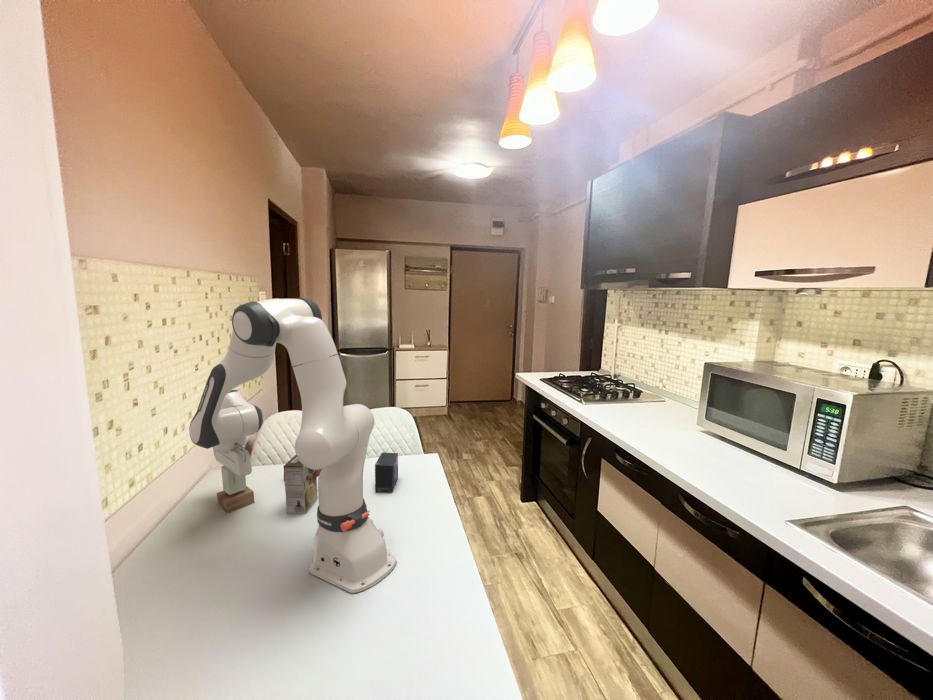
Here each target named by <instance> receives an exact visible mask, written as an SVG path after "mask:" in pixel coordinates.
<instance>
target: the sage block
mask: <svg viewBox="0 0 933 700" xmlns="http://www.w3.org/2000/svg"><path fill="white" fill-rule="evenodd" d="M220 467H221V469H220V470H221V478H222V491H225V492H226V493H227V494H229V495H231V494H234V493H237V492H239V491H242V490H245V489H246V486H247V480H246V476H243V477H242V483H241V484H239V485H236V484H235V483H234V479H235V475H234V473H233V472H232V471H230V470H229V469H228V468H226V467H225V466H223V465H222V466H220Z"/></svg>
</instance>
